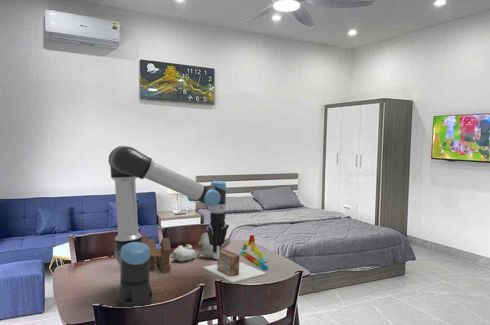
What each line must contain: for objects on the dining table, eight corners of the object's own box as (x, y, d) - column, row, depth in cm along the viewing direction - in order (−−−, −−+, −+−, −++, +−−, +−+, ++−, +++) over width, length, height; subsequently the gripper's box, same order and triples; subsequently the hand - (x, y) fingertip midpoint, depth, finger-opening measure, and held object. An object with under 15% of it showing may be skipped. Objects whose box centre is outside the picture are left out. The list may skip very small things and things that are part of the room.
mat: (232, 283, 177) (232, 281, 177) (203, 268, 197) (203, 267, 197) (266, 274, 191) (266, 273, 191) (235, 261, 211) (235, 260, 211)
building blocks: (133, 280, 176) (135, 208, 175) (126, 264, 199) (127, 200, 197) (172, 275, 185) (174, 206, 183) (161, 261, 207) (163, 199, 206)
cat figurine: (195, 242, 215) (172, 242, 205) (200, 251, 209) (178, 253, 200) (188, 253, 218) (166, 255, 208) (194, 263, 213) (171, 265, 203)
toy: (194, 260, 212) (228, 262, 208) (194, 233, 211) (228, 235, 207) (199, 256, 220) (231, 257, 216) (199, 230, 220) (231, 232, 216)
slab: (230, 276, 183) (231, 257, 183) (217, 270, 193) (217, 251, 192) (238, 274, 187) (239, 255, 186) (224, 268, 196) (225, 249, 196)
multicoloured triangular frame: (268, 270, 199) (269, 242, 198) (263, 270, 197) (264, 243, 197) (245, 254, 226) (245, 230, 226) (240, 254, 225) (241, 230, 224)
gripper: (211, 214, 176) (210, 262, 177) (232, 212, 185) (231, 258, 186) (202, 211, 182) (201, 258, 183) (223, 209, 190) (222, 254, 192)
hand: (216, 258), depth 184 cm, fingers closed
